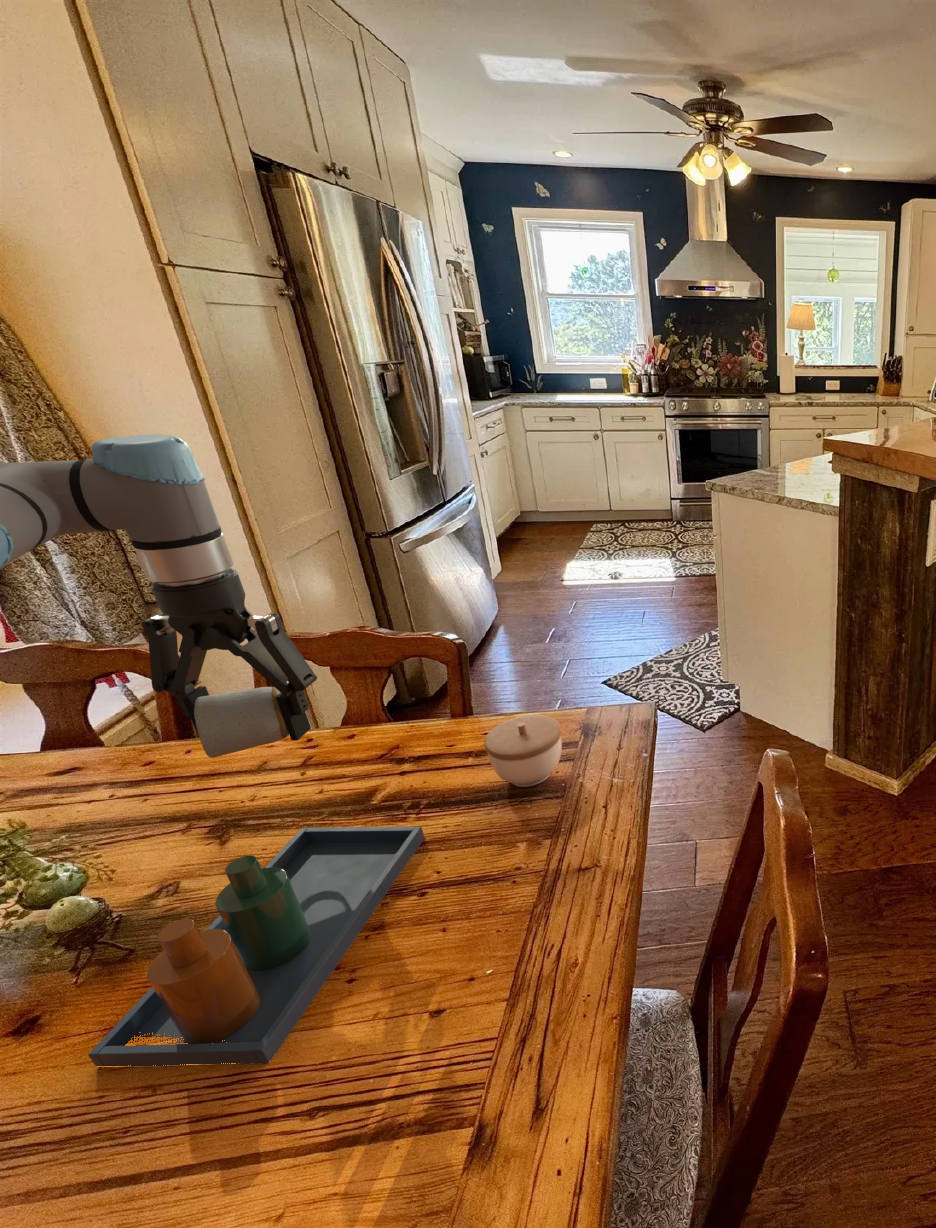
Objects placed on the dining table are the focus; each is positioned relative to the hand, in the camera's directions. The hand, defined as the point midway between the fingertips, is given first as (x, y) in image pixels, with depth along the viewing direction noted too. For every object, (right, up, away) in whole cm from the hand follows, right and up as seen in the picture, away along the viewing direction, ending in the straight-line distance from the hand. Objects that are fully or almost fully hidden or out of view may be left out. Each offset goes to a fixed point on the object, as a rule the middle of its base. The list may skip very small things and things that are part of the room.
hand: (257, 734), depth 84 cm
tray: (+12, -22, -9) cm, 26 cm away
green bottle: (+12, -22, -11) cm, 27 cm away
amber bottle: (+12, -25, -18) cm, 33 cm away
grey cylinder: (-1, -1, 0) cm, 1 cm away
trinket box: (+27, -10, +19) cm, 34 cm away
